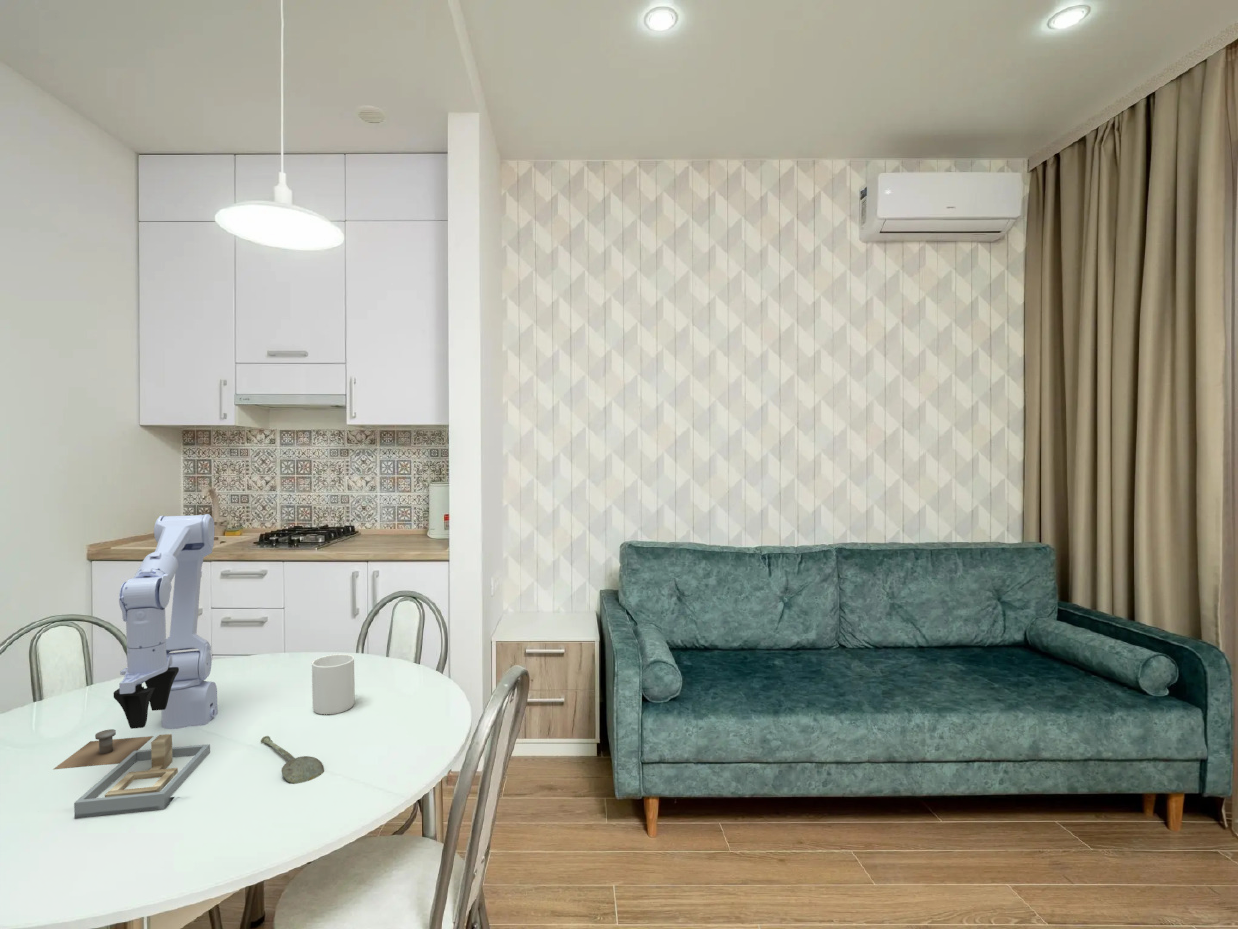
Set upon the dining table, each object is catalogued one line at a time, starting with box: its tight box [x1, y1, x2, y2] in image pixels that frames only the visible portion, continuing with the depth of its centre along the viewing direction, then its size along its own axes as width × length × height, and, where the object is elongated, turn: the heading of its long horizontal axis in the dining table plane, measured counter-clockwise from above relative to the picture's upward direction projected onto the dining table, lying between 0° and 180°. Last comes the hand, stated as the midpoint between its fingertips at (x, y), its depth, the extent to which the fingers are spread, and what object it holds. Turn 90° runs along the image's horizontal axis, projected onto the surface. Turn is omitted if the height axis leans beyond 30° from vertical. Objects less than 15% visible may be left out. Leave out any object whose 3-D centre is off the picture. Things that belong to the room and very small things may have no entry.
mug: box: [311, 653, 356, 715], centre depth 145 cm, size 9×12×11 cm
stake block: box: [53, 728, 154, 770], centre depth 121 cm, size 11×11×5 cm
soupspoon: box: [260, 735, 325, 785], centre depth 120 cm, size 22×3×7 cm
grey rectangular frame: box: [73, 743, 211, 819], centre depth 111 cm, size 13×18×2 cm
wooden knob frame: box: [104, 733, 179, 797], centre depth 111 cm, size 12×8×6 cm, turn 12°
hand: (148, 718), depth 117 cm, fingers open, 7 cm apart
